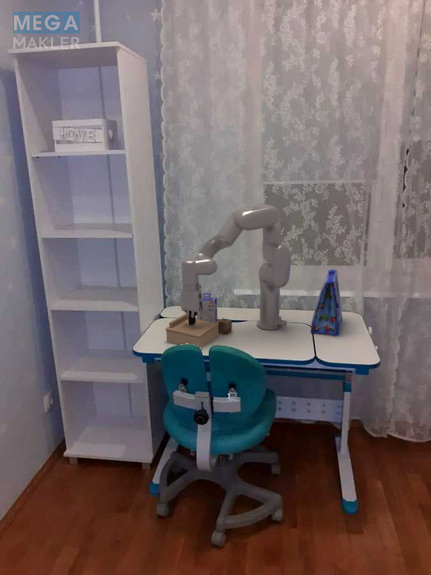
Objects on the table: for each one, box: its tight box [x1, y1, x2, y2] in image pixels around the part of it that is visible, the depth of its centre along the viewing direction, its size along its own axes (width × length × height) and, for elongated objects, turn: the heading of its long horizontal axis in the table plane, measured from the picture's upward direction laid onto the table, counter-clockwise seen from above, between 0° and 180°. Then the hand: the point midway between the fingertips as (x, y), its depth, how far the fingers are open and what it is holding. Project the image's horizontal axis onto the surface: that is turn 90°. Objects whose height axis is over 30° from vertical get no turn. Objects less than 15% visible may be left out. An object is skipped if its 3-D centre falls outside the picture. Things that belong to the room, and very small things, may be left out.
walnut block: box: [216, 317, 233, 336], centre depth 222 cm, size 5×5×6 cm
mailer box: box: [165, 326, 219, 349], centre depth 215 cm, size 18×16×5 cm
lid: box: [165, 313, 219, 338], centre depth 214 cm, size 18×16×3 cm
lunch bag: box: [310, 269, 343, 337], centre depth 222 cm, size 22×14×29 cm, turn 161°
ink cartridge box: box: [196, 292, 218, 323], centre depth 234 cm, size 10×6×14 cm, turn 79°
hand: (192, 324), depth 214 cm, fingers closed
